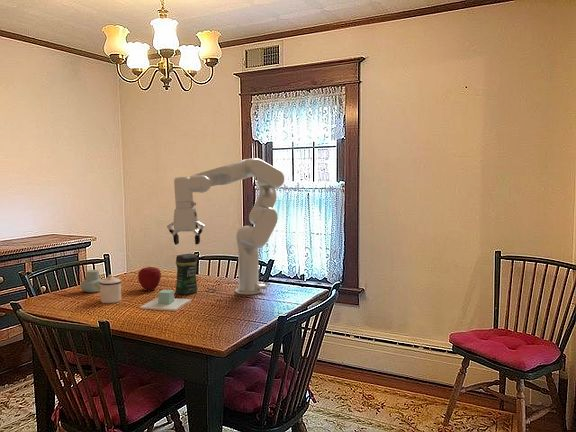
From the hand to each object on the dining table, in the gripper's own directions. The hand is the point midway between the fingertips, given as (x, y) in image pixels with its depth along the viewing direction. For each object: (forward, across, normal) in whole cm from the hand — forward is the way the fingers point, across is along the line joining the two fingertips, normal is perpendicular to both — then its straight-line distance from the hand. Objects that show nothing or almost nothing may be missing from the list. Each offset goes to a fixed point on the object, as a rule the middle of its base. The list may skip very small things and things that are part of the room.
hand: (187, 244), depth 220 cm
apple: (+25, +28, -15) cm, 40 cm away
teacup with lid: (+24, +36, +8) cm, 44 cm away
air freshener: (+24, +52, -6) cm, 58 cm away
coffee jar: (+26, +8, -13) cm, 30 cm away
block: (+24, +8, +9) cm, 27 cm away
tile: (+25, +8, +9) cm, 27 cm away
